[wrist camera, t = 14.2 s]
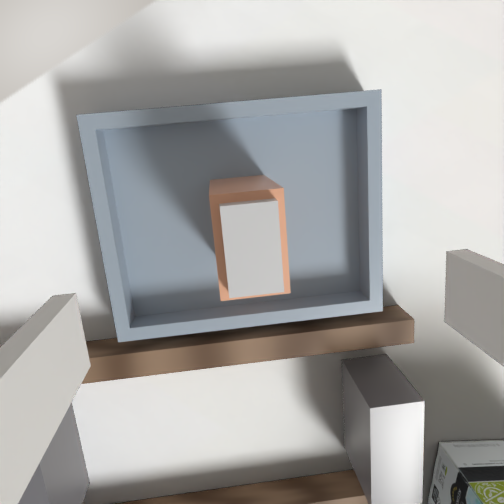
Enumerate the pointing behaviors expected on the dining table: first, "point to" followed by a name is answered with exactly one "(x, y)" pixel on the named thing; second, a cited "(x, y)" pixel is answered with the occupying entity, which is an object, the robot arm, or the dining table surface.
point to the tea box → (468, 473)
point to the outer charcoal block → (383, 430)
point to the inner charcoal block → (60, 469)
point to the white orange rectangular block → (249, 237)
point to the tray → (199, 214)
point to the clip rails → (250, 351)
